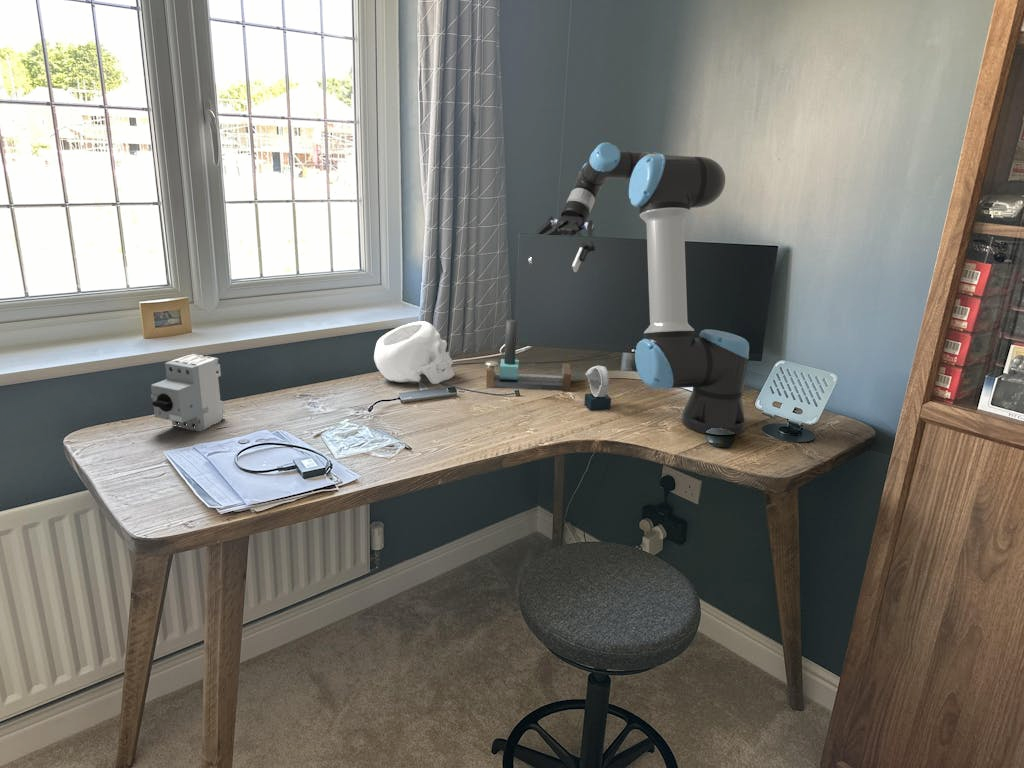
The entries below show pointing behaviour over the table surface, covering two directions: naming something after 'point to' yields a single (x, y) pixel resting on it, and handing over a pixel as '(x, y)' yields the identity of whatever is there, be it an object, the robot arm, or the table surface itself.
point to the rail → (529, 379)
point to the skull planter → (413, 354)
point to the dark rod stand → (510, 353)
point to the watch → (598, 389)
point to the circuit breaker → (189, 392)
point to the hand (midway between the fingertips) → (552, 266)
